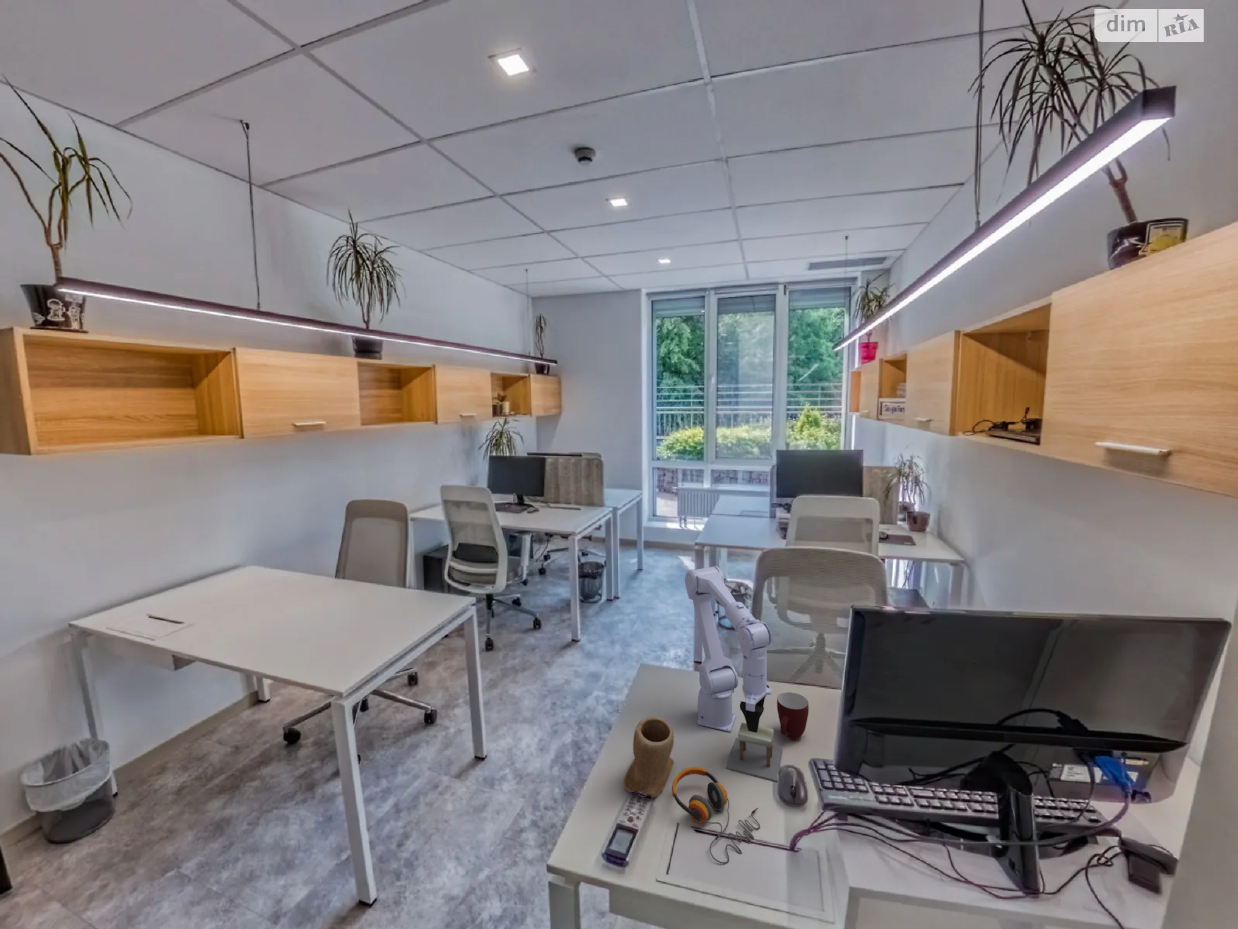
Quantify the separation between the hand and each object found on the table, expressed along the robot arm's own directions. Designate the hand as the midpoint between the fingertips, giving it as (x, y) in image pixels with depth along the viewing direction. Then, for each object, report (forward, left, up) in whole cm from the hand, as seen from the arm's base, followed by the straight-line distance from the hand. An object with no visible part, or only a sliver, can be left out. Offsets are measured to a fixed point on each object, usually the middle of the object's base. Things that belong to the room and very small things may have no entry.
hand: (755, 722), depth 123 cm
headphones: (-6, -22, -10) cm, 25 cm away
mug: (+8, +12, -10) cm, 18 cm away
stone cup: (-22, -16, -10) cm, 29 cm away
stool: (0, 0, -10) cm, 10 cm away
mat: (0, 0, -10) cm, 10 cm away
